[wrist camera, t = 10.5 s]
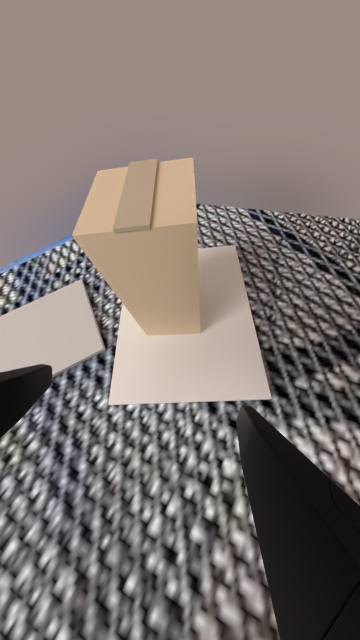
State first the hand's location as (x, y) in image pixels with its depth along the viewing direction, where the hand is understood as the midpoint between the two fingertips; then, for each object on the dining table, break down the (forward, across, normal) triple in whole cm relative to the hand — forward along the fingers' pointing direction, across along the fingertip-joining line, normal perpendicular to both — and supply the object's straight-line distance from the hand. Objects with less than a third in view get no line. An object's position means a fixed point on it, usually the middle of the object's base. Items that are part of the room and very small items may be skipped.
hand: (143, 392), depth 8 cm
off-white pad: (+13, -1, -1) cm, 13 cm away
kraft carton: (+12, 0, -2) cm, 12 cm away
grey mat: (+12, +14, +4) cm, 19 cm away
